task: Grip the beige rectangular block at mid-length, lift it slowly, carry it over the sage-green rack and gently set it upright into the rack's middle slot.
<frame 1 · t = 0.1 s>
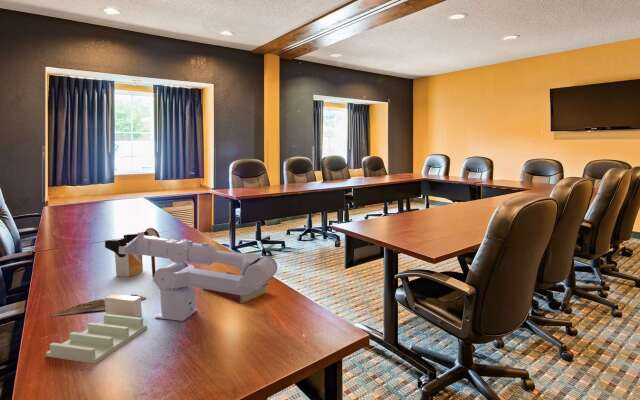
hand: (115, 241, 118), 22 cm above the table, tool horizontal, fingers open, 7 cm apart
beige rectangular block: (124, 316, 115), on the table
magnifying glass: (154, 279, 147), on the table
rack: (100, 341, 100), on the table
hardcover book: (234, 292, 135), on the table
wooden fragment: (101, 307, 122), on the table
small box: (130, 273, 154), on the table
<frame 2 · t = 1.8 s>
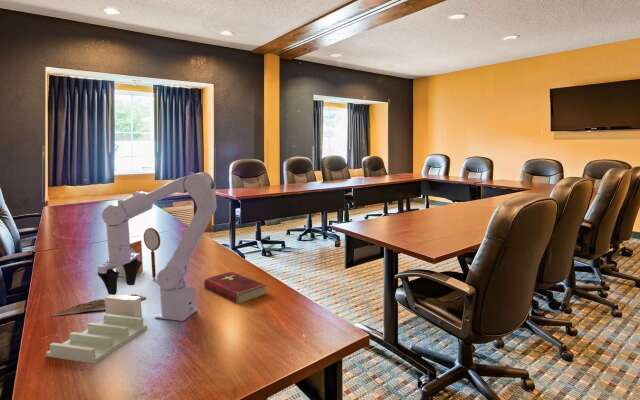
hand: (122, 289, 114), 8 cm above the table, tool pointing down, fingers open, 7 cm apart
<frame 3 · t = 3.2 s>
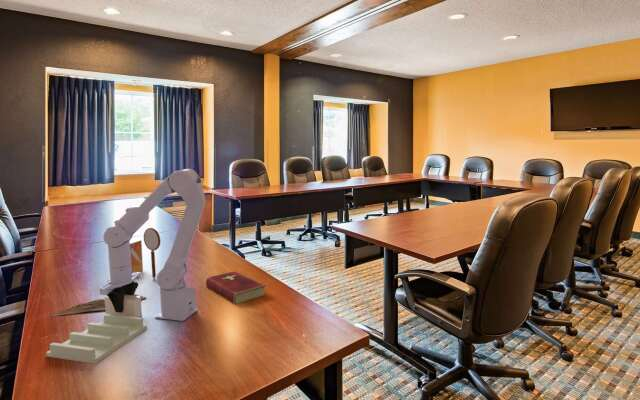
hand: (123, 309, 115), 2 cm above the table, tool pointing down, fingers closed on beige rectangular block, 3 cm apart
beige rectangular block: (124, 315, 115), on the table, touching gripper
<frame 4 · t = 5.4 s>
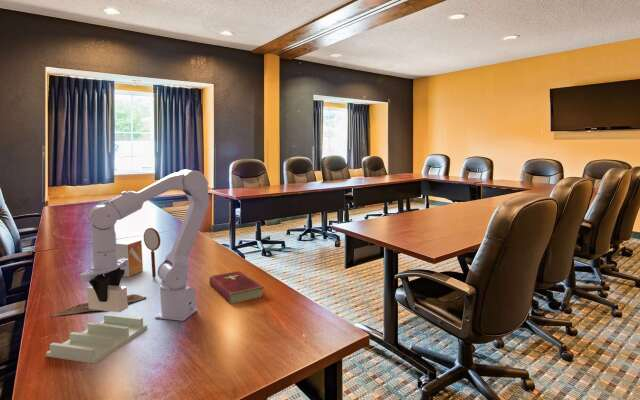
hand: (108, 298, 105), 9 cm above the table, tool pointing down, fingers closed on beige rectangular block, 3 cm apart
beige rectangular block: (108, 308, 105), point 6 cm above the table, touching gripper
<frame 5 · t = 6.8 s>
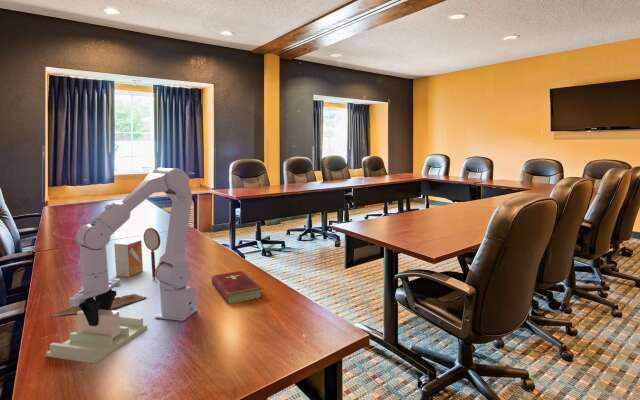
hand: (98, 322, 99), 5 cm above the table, tool pointing down, fingers closed on beige rectangular block, 3 cm apart
beige rectangular block: (99, 333, 100), point 2 cm above the table, touching gripper
when the fingers open (4 cm above the table, at t = 7.7 s): beige rectangular block stays where it is, resting on rack.
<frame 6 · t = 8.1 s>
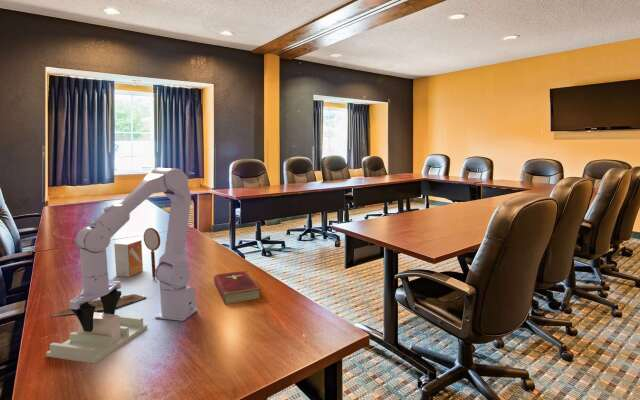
hand: (99, 324, 99), 5 cm above the table, tool pointing down, fingers open, 6 cm apart
beige rectangular block: (100, 337, 100), point 1 cm above the table, touching rack
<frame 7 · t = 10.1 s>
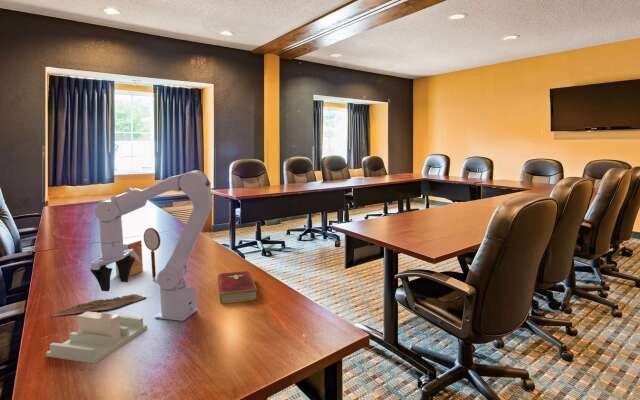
hand: (115, 286, 113), 9 cm above the table, tool pointing down, fingers open, 7 cm apart
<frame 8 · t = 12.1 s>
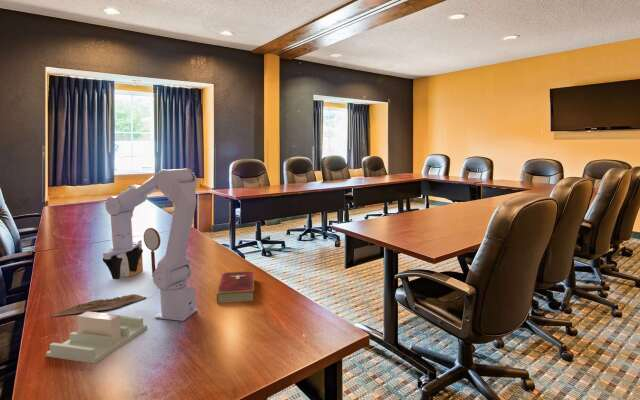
hand: (125, 275, 123), 9 cm above the table, tool pointing down, fingers open, 7 cm apart
at the end: beige rectangular block 0.0 cm off-centre on the rack, point 1.0 cm above the rack's base; beige rectangular block tilted 0°; the gripper is holding nothing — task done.
